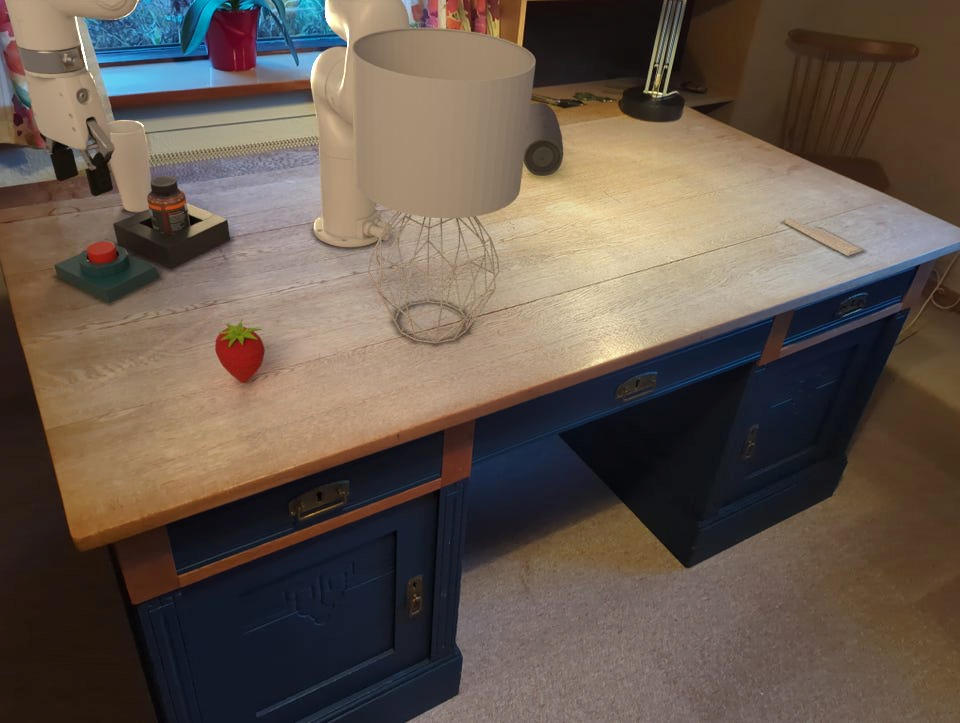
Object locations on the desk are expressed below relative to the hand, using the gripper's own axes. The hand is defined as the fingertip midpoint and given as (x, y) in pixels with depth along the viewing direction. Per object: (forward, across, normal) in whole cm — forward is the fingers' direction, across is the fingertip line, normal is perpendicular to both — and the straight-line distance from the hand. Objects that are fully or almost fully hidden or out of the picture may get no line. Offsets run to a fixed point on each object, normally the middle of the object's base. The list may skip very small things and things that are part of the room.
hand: (84, 184), depth 110 cm
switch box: (+16, 0, 0) cm, 16 cm away
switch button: (+12, 0, 0) cm, 12 cm away
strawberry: (+16, -35, +6) cm, 39 cm away
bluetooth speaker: (+16, -30, -89) cm, 95 cm away
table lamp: (+16, -47, -21) cm, 54 cm away
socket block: (+16, +1, -14) cm, 21 cm away
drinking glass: (+16, +16, -19) cm, 30 cm away
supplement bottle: (+16, +1, -14) cm, 21 cm away
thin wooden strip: (+16, -92, -94) cm, 132 cm away
